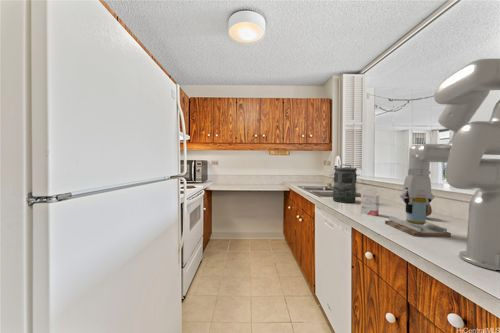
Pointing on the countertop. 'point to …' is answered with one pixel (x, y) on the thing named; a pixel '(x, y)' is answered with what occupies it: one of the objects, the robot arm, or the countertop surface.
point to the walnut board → (415, 233)
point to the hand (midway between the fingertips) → (416, 212)
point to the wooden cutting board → (420, 226)
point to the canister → (344, 184)
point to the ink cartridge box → (369, 202)
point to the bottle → (418, 209)
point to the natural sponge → (428, 210)
